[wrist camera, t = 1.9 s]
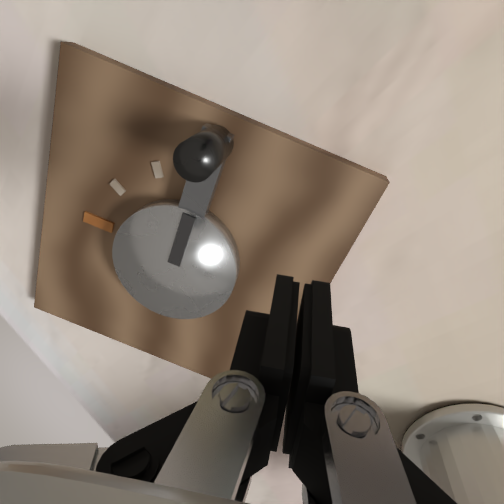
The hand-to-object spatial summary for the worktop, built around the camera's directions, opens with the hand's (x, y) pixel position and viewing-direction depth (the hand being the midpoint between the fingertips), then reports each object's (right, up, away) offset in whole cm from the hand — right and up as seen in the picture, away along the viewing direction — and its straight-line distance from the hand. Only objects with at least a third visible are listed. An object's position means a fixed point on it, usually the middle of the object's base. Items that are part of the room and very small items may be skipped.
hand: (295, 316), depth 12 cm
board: (-7, +2, +20) cm, 22 cm away
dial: (-6, +4, +17) cm, 19 cm away
